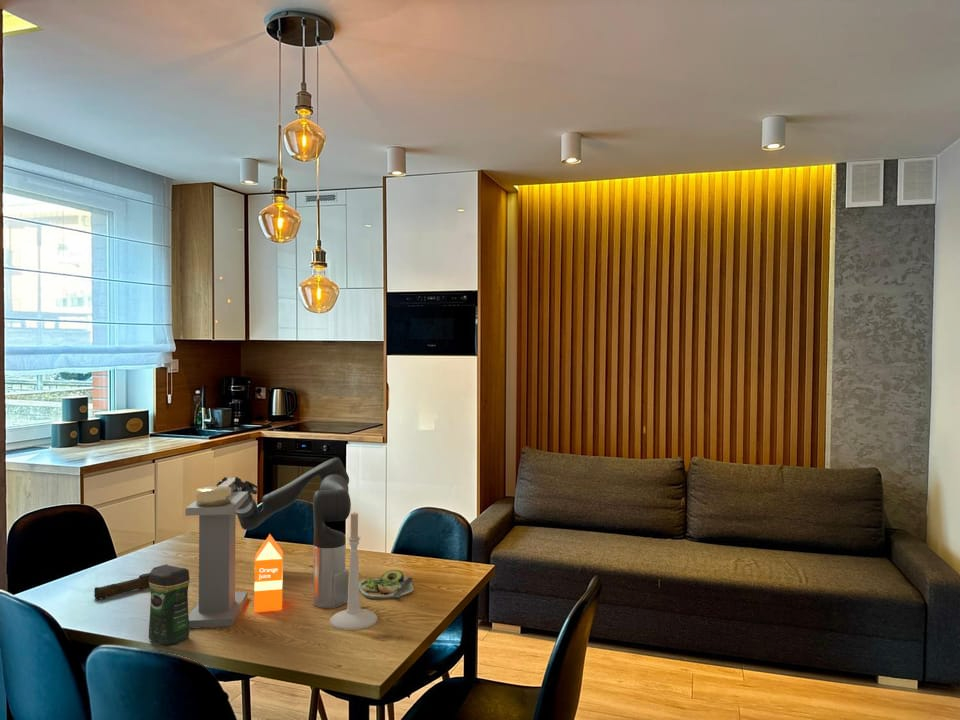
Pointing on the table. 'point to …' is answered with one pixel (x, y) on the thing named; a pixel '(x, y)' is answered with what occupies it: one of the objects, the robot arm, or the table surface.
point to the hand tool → (122, 587)
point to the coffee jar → (169, 604)
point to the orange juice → (268, 577)
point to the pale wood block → (216, 494)
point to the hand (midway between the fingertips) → (230, 480)
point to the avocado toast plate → (387, 585)
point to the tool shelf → (217, 565)
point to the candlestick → (353, 591)
